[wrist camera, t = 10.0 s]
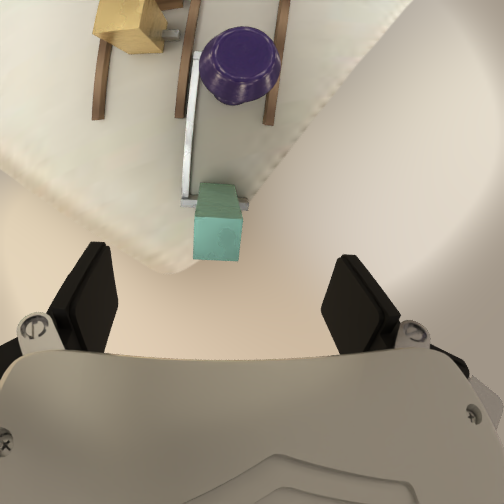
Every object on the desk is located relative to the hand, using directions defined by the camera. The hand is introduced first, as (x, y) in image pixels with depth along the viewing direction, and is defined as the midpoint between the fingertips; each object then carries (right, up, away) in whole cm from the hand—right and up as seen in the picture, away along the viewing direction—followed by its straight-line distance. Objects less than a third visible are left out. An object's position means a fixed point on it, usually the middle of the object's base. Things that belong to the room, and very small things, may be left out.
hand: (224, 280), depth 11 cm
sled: (-9, +27, +8) cm, 29 cm away
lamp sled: (-2, +13, +16) cm, 21 cm away
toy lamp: (-1, +18, +14) cm, 23 cm away
